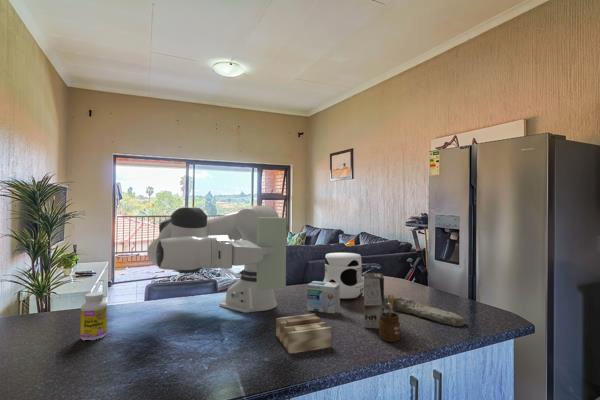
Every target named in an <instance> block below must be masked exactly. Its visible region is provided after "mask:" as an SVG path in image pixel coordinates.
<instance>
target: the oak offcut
mask: <svg viewBox="0 0 600 400" xmlns="http://www.w3.org/2000/svg"><path fill="white" fill-rule="evenodd" d="M316 328H321V327H320V326H319V325H311V326H303V327H296V328H294V331H301V330H308V329H316Z"/></svg>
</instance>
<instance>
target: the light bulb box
mask: <svg viewBox="0 0 600 400" xmlns="http://www.w3.org/2000/svg"><path fill="white" fill-rule="evenodd" d="M306 292H307V293H306V294H307V296H306V297H307V298H306V299H307V302H306V303H307V304H306V306H307V310H306V312H311V311H313V312H320V313H327V314H335V313H337V314H339V313H340V311H341V309H340V308H341V306H340V304H341V303H340V302H341V300H340V283H331V282H323V281H317V280H313V281H311V282H309V283H308V284H307V291H306Z"/></svg>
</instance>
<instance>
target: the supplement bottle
mask: <svg viewBox="0 0 600 400" xmlns="http://www.w3.org/2000/svg"><path fill="white" fill-rule="evenodd" d="M104 296H105V295H104V292H102V291H94V292H93V291H92V292H88V293H86V294H85V295H84V300H85V302H84V303H82V304H81V306H80V339H81V340H82V341H85V340H91V341H96V339H97V340H99V338H100V339H102V338H104V337H106V336H107V331H108V330H107V329H108V327H107V325H108V324H107V323H108V322H107V321H108V320H107V319H108V303H107V301H105V300H103V299H104Z"/></svg>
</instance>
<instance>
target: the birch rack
mask: <svg viewBox="0 0 600 400" xmlns="http://www.w3.org/2000/svg"><path fill="white" fill-rule="evenodd" d="M313 316H316V313H309V314H308V313H307V314H299V315H298V314H297V315H292V316H282V317H276V319H275V321H276V322H275V327H276V328H275V336H276V337H277V339H278V340H279V342H280V343H281V344H282V346H283V347H284V348H285V350H286V351H287V352H288V354H297V353H303V352H304V353H305V352H309V351H315V350H322V349H327V348H329V349H330V348H333V346H332V341H333V339H332V335H333V334H332V333H333V332H332V328H333V327H331V326H327V323H326V321H322V322H321V317H318V318H319V323H312V324H305V325H297V326H289V327H286V320H289V319H297V318H305V317H313ZM311 325H319V326H320V327H321V328H316V329H308V330H301V331H294V328H296V327H303V326H311Z"/></svg>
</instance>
